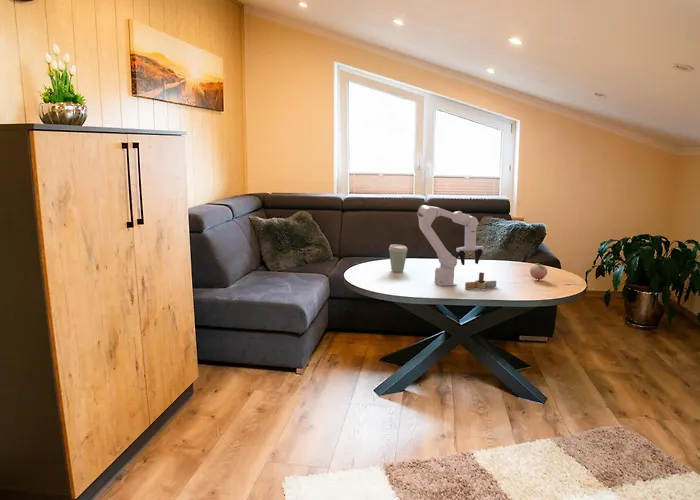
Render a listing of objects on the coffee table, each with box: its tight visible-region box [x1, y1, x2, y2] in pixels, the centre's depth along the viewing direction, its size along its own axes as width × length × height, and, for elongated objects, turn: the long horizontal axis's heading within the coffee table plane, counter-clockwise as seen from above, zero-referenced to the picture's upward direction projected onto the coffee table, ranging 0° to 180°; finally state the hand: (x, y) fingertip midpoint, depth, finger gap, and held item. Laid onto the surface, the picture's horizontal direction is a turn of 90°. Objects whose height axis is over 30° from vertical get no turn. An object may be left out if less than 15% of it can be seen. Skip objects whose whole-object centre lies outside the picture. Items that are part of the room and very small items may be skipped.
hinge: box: [464, 279, 497, 291], centre depth 283 cm, size 17×6×4 cm, turn 104°
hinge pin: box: [478, 272, 485, 283], centre depth 282 cm, size 2×2×8 cm
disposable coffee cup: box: [388, 243, 408, 274], centre depth 313 cm, size 11×11×15 cm
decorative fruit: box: [529, 262, 548, 281], centre depth 299 cm, size 9×8×10 cm
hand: (469, 264), depth 292 cm, fingers open, 7 cm apart
